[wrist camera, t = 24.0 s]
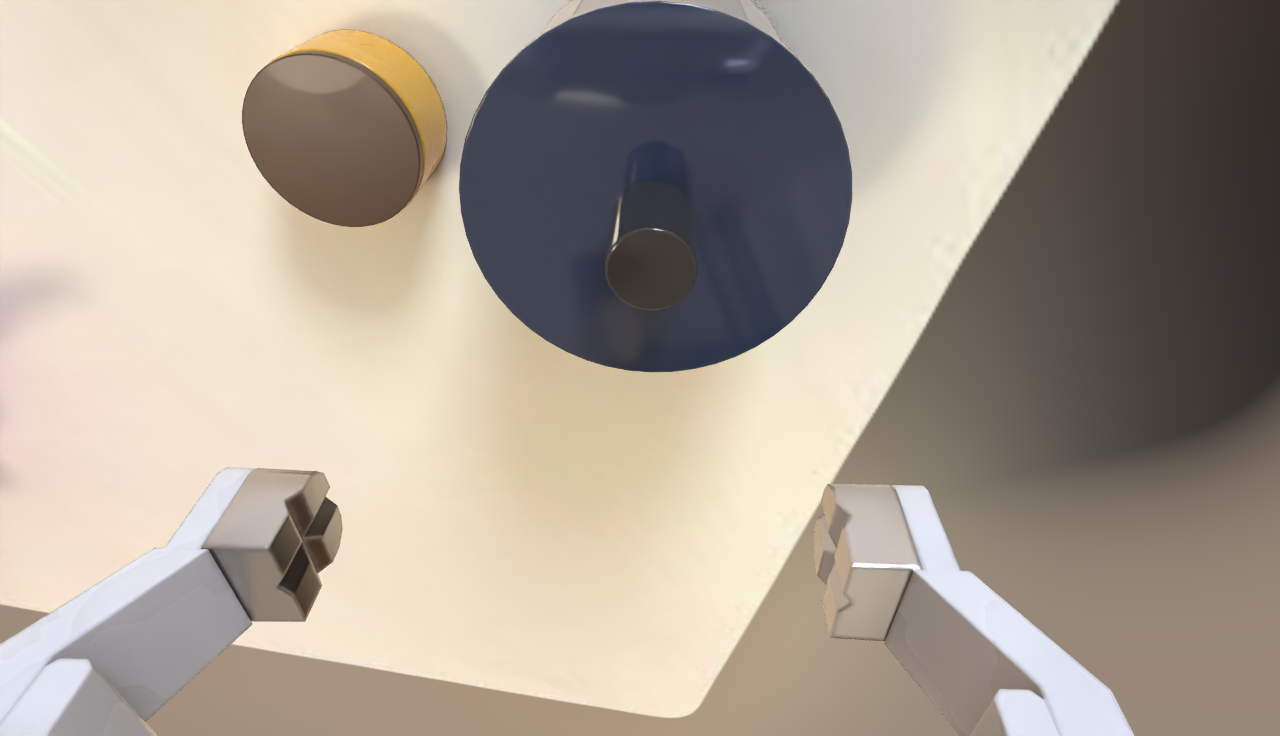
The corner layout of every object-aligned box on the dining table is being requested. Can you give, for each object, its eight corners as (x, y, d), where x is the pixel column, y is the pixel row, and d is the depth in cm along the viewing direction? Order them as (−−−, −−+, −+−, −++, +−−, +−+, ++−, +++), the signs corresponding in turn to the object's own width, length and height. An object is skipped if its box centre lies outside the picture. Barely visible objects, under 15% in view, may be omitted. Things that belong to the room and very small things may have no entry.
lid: (439, -11, 20) (383, 23, 16) (883, -3, 19) (934, 33, 15) (491, 349, 27) (462, 430, 23) (812, 358, 27) (835, 442, 23)
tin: (264, 28, 29) (212, 50, 25) (432, 29, 28) (402, 53, 25) (311, 190, 33) (272, 227, 30) (458, 192, 33) (435, 230, 29)
